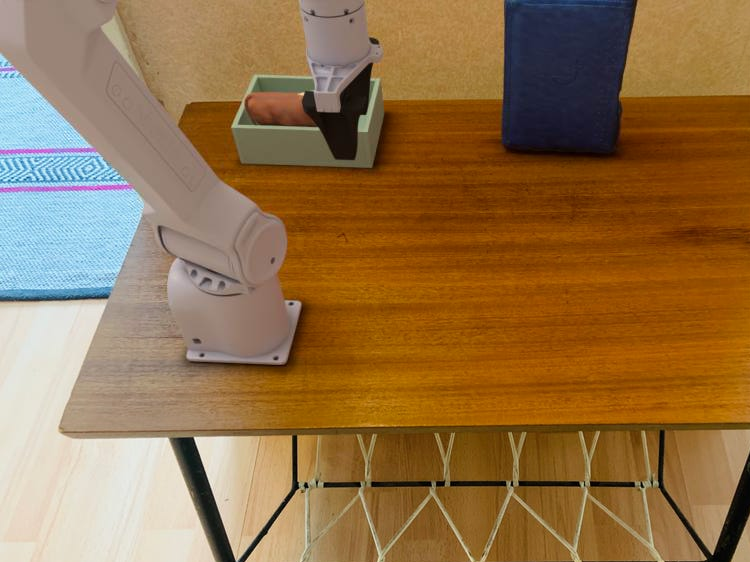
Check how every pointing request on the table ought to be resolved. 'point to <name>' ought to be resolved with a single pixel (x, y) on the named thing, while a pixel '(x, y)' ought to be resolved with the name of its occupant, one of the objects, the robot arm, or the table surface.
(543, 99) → the book
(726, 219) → the table surface
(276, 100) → the bull figurine
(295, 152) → the bin
